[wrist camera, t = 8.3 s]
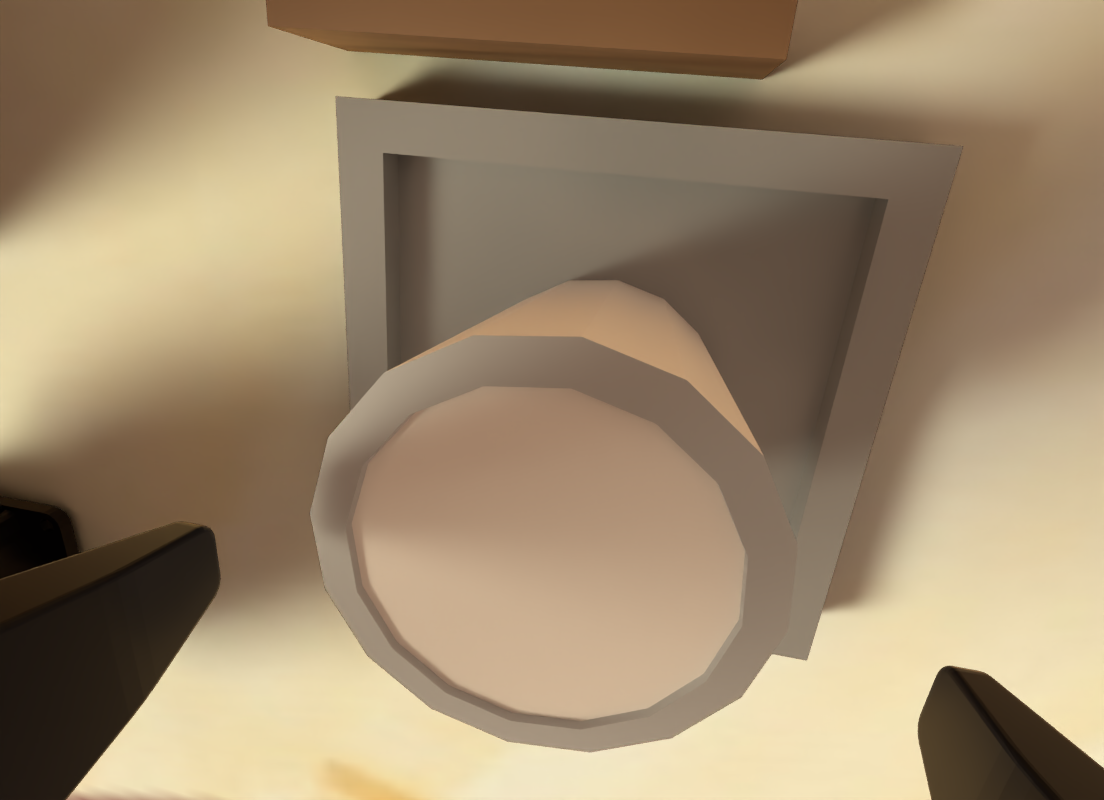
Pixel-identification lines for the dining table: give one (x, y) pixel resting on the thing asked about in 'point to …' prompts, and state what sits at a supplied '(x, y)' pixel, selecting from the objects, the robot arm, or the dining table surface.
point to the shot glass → (559, 525)
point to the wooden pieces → (558, 31)
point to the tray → (659, 265)
